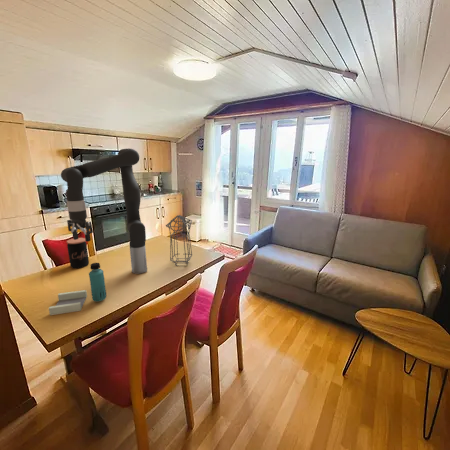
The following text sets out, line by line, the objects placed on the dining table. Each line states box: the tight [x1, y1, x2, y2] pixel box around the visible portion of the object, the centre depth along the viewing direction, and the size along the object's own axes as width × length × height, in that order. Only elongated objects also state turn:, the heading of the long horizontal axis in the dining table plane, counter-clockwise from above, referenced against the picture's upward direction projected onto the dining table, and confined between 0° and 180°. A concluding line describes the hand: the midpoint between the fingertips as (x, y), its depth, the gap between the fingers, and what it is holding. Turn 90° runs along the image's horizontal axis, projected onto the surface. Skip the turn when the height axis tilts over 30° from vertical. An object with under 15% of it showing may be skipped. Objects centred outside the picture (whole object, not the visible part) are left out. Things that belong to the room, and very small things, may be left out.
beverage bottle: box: [88, 262, 107, 302], centre depth 112 cm, size 6×7×20 cm
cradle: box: [48, 289, 88, 316], centre depth 110 cm, size 12×13×4 cm
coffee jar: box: [66, 237, 90, 269], centre depth 151 cm, size 11×11×18 cm
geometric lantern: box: [165, 214, 193, 267], centre depth 156 cm, size 16×16×35 cm
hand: (82, 240), depth 117 cm, fingers open, 8 cm apart
